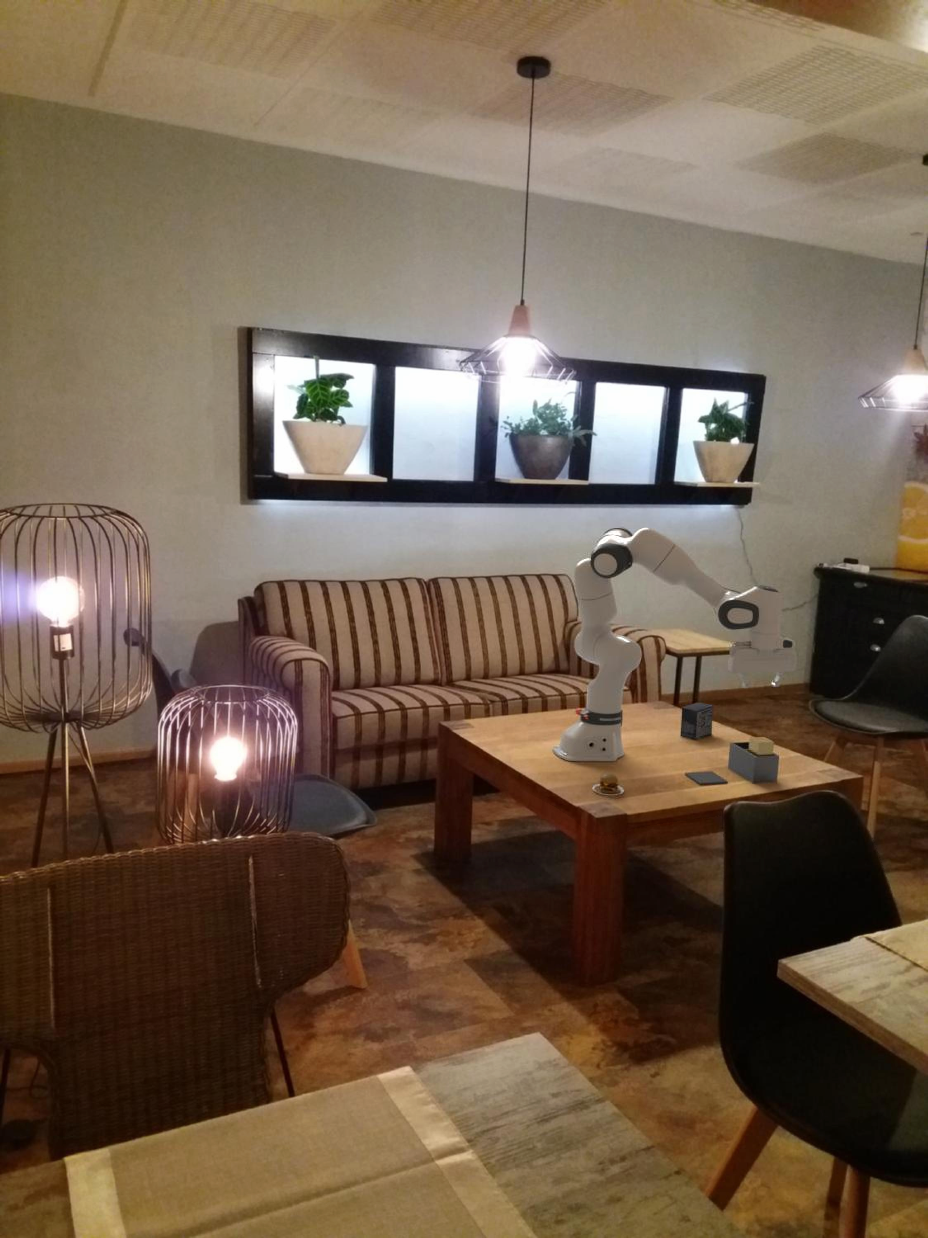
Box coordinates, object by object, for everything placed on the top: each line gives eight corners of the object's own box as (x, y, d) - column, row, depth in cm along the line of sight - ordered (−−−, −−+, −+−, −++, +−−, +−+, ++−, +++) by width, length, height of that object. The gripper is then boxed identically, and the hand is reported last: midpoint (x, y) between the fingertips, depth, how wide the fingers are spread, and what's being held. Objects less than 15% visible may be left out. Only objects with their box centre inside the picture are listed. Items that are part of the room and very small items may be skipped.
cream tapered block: (756, 769, 279) (759, 742, 277) (747, 763, 284) (749, 737, 282) (771, 768, 280) (774, 742, 279) (762, 762, 285) (764, 737, 284)
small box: (695, 730, 331) (698, 701, 329) (712, 734, 326) (714, 705, 324) (679, 736, 323) (681, 706, 321) (695, 740, 319) (697, 710, 317)
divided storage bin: (752, 783, 278) (755, 757, 277) (727, 767, 292) (730, 742, 290) (776, 781, 280) (779, 755, 279) (751, 766, 294) (753, 741, 292)
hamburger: (601, 782, 277) (602, 764, 276) (637, 793, 269) (638, 774, 268) (578, 792, 268) (579, 774, 267) (614, 803, 260) (616, 784, 259)
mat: (699, 785, 275) (699, 783, 275) (684, 774, 284) (685, 773, 284) (727, 783, 278) (727, 781, 278) (711, 773, 286) (711, 771, 286)
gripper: (735, 644, 272) (732, 691, 275) (800, 642, 276) (797, 688, 278) (725, 639, 278) (722, 685, 281) (789, 637, 282) (786, 682, 284)
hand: (760, 686), depth 280 cm, fingers open, 8 cm apart
